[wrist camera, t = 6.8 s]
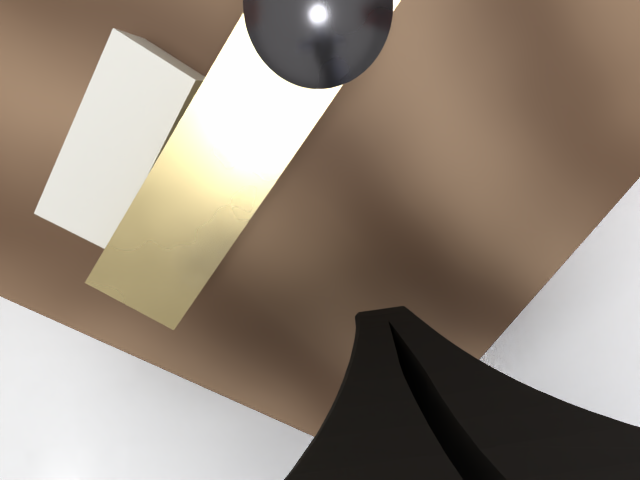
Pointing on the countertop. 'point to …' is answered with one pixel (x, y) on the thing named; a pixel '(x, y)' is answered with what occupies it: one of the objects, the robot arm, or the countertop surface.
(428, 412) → the robot arm
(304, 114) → the bar
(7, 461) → the countertop surface
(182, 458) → the countertop surface
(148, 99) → the white rectangular block
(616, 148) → the plate
